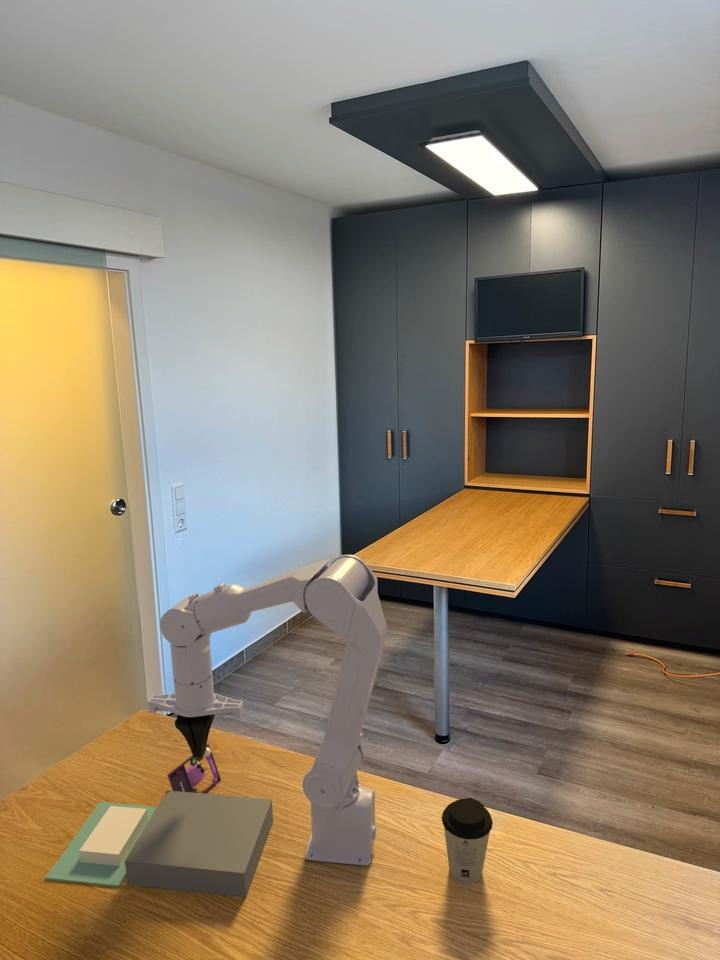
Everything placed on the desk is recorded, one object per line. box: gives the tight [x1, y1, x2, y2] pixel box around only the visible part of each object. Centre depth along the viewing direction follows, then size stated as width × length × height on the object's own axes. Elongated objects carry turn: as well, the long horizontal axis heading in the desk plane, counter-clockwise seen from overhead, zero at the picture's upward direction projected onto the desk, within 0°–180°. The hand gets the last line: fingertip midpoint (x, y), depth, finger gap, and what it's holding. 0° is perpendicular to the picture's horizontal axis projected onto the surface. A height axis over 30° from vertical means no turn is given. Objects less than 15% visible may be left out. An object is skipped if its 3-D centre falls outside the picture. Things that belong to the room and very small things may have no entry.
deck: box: [125, 790, 274, 898], centre depth 97 cm, size 17×14×4 cm
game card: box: [167, 743, 222, 794], centre depth 110 cm, size 7×5×9 cm
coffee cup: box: [441, 797, 494, 885], centre depth 92 cm, size 7×7×10 cm
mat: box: [44, 801, 157, 888], centre depth 100 cm, size 11×15×1 cm
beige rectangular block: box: [79, 806, 148, 866], centre depth 99 cm, size 6×9×2 cm, turn 172°
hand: (199, 753), depth 103 cm, fingers closed
